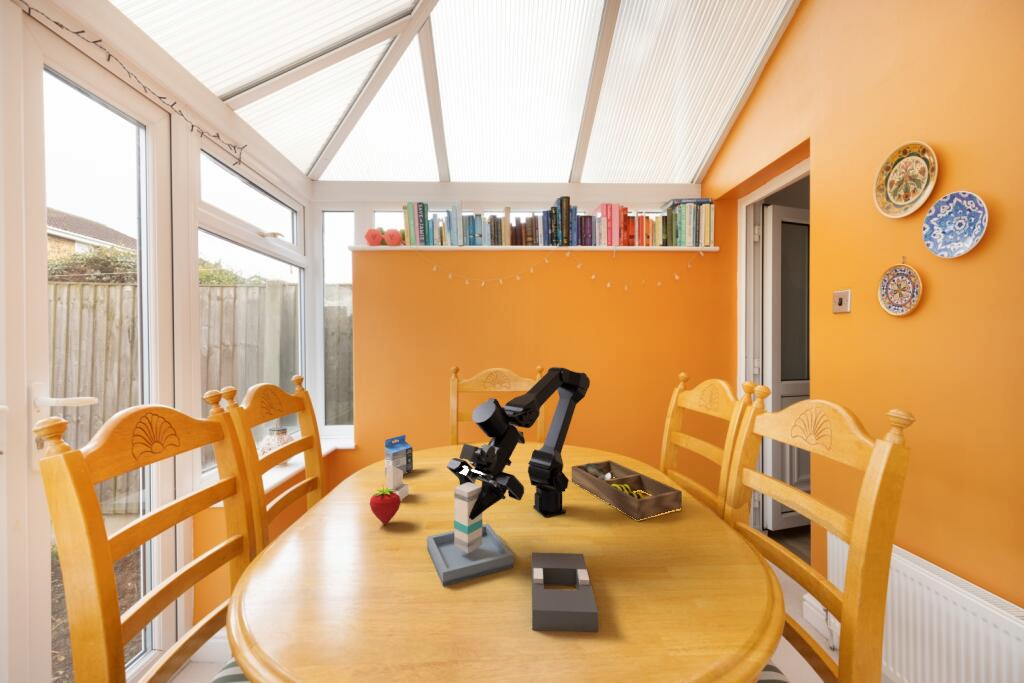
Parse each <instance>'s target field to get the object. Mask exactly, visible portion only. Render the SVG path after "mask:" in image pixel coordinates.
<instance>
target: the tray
mask: <svg viewBox="0 0 1024 683" xmlns="http://www.w3.org/2000/svg"><path fill="white" fill-rule="evenodd" d="M426 549H427V552H428V554H429V556H430V558H431V561H432V563H433V565H434V569H435V571H436V573H437V575H438V578H439V579H440V580H439V581H440V582H441V585H442V586H443V587H446V586H449V585H453V584H457V583H460V582H465V581H469V580H472V579H475V578H480V577H483V576H486V575H491V574H494V573H498V572H502V571H505V570H508V569H512V568H514V564H515V563H514V553H512V551H511V549H510V548H509V547H508V546H507V544H506V543H505V542H504V541H503V540H502V538H501V537H500V536H499V535H498V534H497V532H496V531H495V530H494V529H493V528H492V527H491V525H490V524H489V523H484V524H482V545H481V546H479V547H478V548H476V549H474V550H472V551H471V552H469V553H467V552H465V551H463V550H461V549H459V548H457V547H455V546H454V530H451V531H448V532H446V531H445V532H442V533H438V534H434V535H428V536H426Z"/></svg>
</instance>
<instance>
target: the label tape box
mask: <svg viewBox="0 0 1024 683" xmlns="http://www.w3.org/2000/svg"><path fill="white" fill-rule="evenodd" d="M406 436H407V434H402V435H398V436H395V437H390V438H386V439H384V468H385V469H384V470H385V471H384V472H385V473H384V476H385V475H387V466H394V467H396V468H398V469H400V470H402V471H403V473H406V472H409V471H411V472H413V471H414V468H413V467H414V461H413V460H414V457H413V446H412V445H410V443H408V442H407V441H406ZM412 470H413V471H412ZM409 473H410V472H409ZM406 474H407V473H406Z"/></svg>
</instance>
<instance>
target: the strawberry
mask: <svg viewBox="0 0 1024 683" xmlns="http://www.w3.org/2000/svg"><path fill="white" fill-rule="evenodd" d="M382 486H384V484H382ZM392 490H394V489H388V488H387V487H386V488H384V487H382V489H375V491H377V493H374V494H372V496H371V497H370V500H369V506H370V511H371V512H372V514H374V516H375V517H376V518H377V519H378V520H379V521H380V522H381V524H383V525H387V524H389V523H390V521H391V520H392V519H393V518H394V516H395V515H396V514H397V512H398V511H399V509H400V506H401V503H402V500H400V496H399V495H397V494H396V493H394V492H396V491H392Z"/></svg>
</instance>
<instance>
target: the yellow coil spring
mask: <svg viewBox="0 0 1024 683" xmlns="http://www.w3.org/2000/svg"><path fill="white" fill-rule="evenodd" d="M612 486H613V487H615V488H617V489H619V490H621V491H623V492H625V493H627V494H629V495H631V496H632V497H634V498H636V499H641V498H644V497H643V493H641V492H638V493H634V492H631V489H630V487H629V486H628V485H617V484H612Z"/></svg>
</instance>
